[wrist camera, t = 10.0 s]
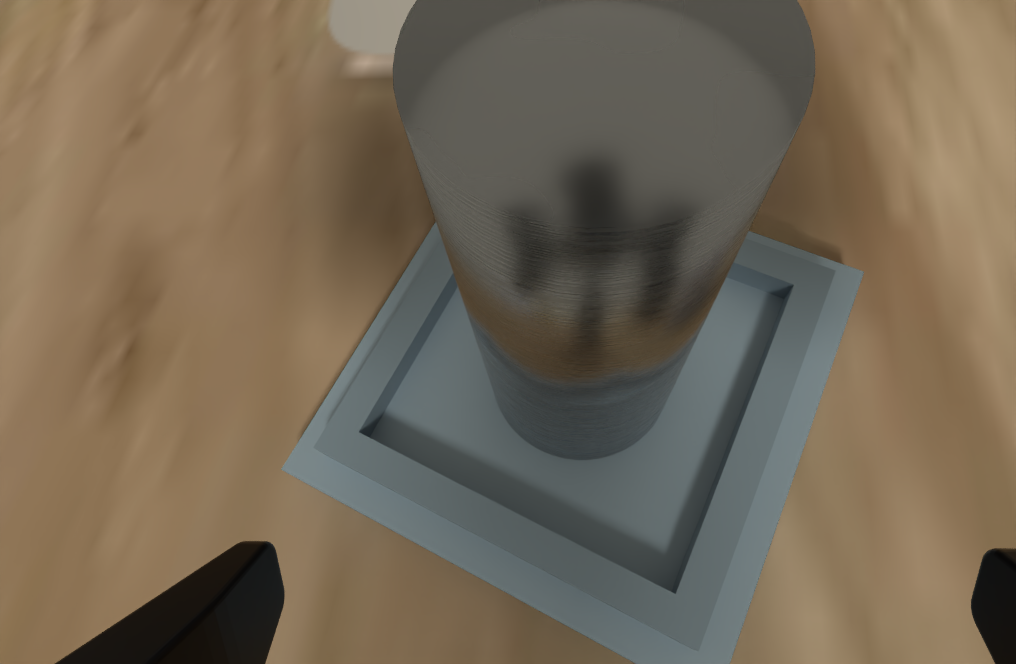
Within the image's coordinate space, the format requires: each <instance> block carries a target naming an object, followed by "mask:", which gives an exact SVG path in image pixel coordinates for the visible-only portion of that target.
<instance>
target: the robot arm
mask: <svg viewBox="0 0 1016 664" xmlns="http://www.w3.org/2000/svg"><path fill="white" fill-rule="evenodd" d="M283 605H284V586H283V581H282V577H281V572H280V568H279V563H278V558H277V554H276V550H275V547H274V546H273V544H271V543H270V542H267V541H243V542H240V543H238V544H236V545H234V546H233V547H231V548H230V549H228V550H227V551H225V552H224V553H222V554H221V555H219V556H218V557H216V558H215V559H213V560H212V561H210V562H209V563H207V564H205V565H204V566H202V567H201V568H199V569H198V570H196V571H195V572H193V573H192V574H190V575H189V576H187V577H186V578H184V579H183V580H181V581H180V582H178V583H177V584H175V585H174V586H172V587H171V588H169V589H168V590H166V591H164V592H163V593H161V594H160V595H158V596H157V597H155V598H154V599H152V600H151V601H149V602H148V603H146V604H145V605H143V606H142V607H140V608H139V609H137V610H136V611H134V612H133V613H131V614H130V615H128V616H127V617H125V618H123V619H122V620H120V621H119V622H117V623H116V624H114V625H113V626H111V627H110V628H108V629H107V630H105V631H104V632H102V633H101V634H99V635H98V636H96V637H95V638H93V639H92V640H90V641H89V642H87V643H86V644H84V645H82V646H81V647H79V648H78V649H76V650H75V651H73V652H72V653H70V654H69V655H67V656H66V657H64V658H63V659H61V660H60V661H58V662H57V663H55V664H265V663H266V659H267V656H268V653H269V650H270V647H271V644H272V641H273V637H274V634H275V631H276V628H277V625H278V622H279V619H280V616H281V612H282V609H283ZM971 610H972V615H973V618H974V621H975V624H976V626H977V628H978V630H979V632H980V634H981V636H982V638H983V640H984V642H985V644H986V646H987V648H988V650H989V652H990V654H991V656H992V658H993V660H994V662H995V664H1016V549H1008V548H995V549H991V550H988V551H987V552H986V553H985V554H984V556H983V559H982V562H981V566H980V569H979V573H978V577H977V580H976V584H975V588H974V591H973V595H972V599H971Z"/></svg>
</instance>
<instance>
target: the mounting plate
mask: <svg viewBox="0 0 1016 664" xmlns="http://www.w3.org/2000/svg"><path fill="white" fill-rule="evenodd" d="M863 273H864V272H863V271H860V270H858V269H855V268H852V267H849V266H846V265H844V264H841V263H838V262H835V261H832V260H829V259H827V258H824V257H821V256H818V255H815V254H813V253H810V252H807V251H804V250H801V249H798V248H796V247H793V246H790V245H787V244H784V243H782V242H779V241H776V240H773V239H770V238H767V237H765V236H762V235H759V234H756V233H753V232H751V231H748V233H747V235H746V237H745V239H744V241H743V244H742V246H741V248H740V250H739V252H738V254H737V256H736V258H735V260H734V262H733V264H732V266H731V269H730V271H729V273H728V275H727V277H726V279H725V281H724V283H723V285H722V287H721V289H720V291H719V294H718V296H717V298H716V300H715V302H714V304H713V306H712V308H711V310H710V312H709V314H708V316H707V318H706V321H705V323H704V325H703V327H702V329H701V331H700V333H699V335H698V337H697V339H696V341H695V343H694V346H693V348H692V350H691V352H690V354H689V356H688V358H687V360H686V362H685V364H684V366H683V368H682V371H681V373H680V375H679V377H678V379H677V381H676V383H675V385H674V387H673V389H672V391H671V393H670V395H669V398H668V400H667V402H666V404H665V406H664V408H663V410H662V412H661V414H660V416H659V417H658V419H657V421H656V422H655V424H654V425H653V426H652V428H651V429H650V430H649V431H648V432H647V433H646V434H645V435H644V436H643V437H642V438H641V439H640V440H639V441H637V442H636V443H635V444H633V445H632V446H630V447H629V448H627V449H625V450H623V451H621V452H619V453H616V454H614V455H611V456H608V457H604V458H600V459H592V460H572V459H565V458H560V457H557V456H553V455H550V454H548V453H545V452H543V451H540V450H539V449H537V448H535V447H534V446H532V445H530V444H529V443H527V442H526V441H525V440H524V439H522V438H521V437H520V436H519V435H518V434H517V433H516V432H515V431H514V430H513V429H512V428H511V426H510V425H509V424H508V422H507V421H506V420H505V418H504V416H503V414H502V412H501V411H500V408H499V406H498V403H497V401H496V398H495V395H494V392H493V389H492V386H491V383H490V380H489V377H488V374H487V371H486V368H485V365H484V362H483V359H482V356H481V353H480V351H479V348H478V345H477V342H476V339H475V336H474V333H473V330H472V327H471V324H470V321H469V318H468V315H467V312H466V309H465V306H464V303H463V300H462V297H461V294H460V291H459V288H458V285H457V282H456V279H455V276H454V273H453V270H452V267H451V264H450V262H449V259H448V256H447V253H446V250H445V247H444V244H443V241H442V238H441V235H440V232H439V229H438V226H437V223H436V222H435V224H434V225H433V227H432V228H431V230H430V232H429V233H428V235H427V236H426V238H425V240H424V241H423V243H422V244H421V246H420V248H419V249H418V251H417V252H416V254H415V256H414V257H413V259H412V260H411V262H410V264H409V265H408V267H407V269H406V270H405V272H404V273H403V275H402V277H401V278H400V280H399V281H398V283H397V285H396V286H395V288H394V289H393V291H392V293H391V294H390V296H389V297H388V299H387V301H386V302H385V304H384V305H383V307H382V309H381V310H380V312H379V313H378V315H377V317H376V318H375V320H374V321H373V323H372V325H371V326H370V328H369V329H368V331H367V333H366V334H365V336H364V338H363V339H362V341H361V342H360V344H359V346H358V347H357V349H356V350H355V352H354V354H353V355H352V357H351V358H350V360H349V362H348V363H347V365H346V366H345V368H344V370H343V371H342V373H341V374H340V376H339V378H338V379H337V381H336V382H335V384H334V386H333V387H332V389H331V390H330V392H329V394H328V395H327V397H326V398H325V400H324V402H323V403H322V405H321V407H320V408H319V410H318V411H317V413H316V415H315V416H314V418H313V419H312V421H311V423H310V424H309V426H308V427H307V429H306V431H305V432H304V434H303V435H302V437H301V439H300V440H299V442H298V443H297V445H296V447H295V448H294V450H293V451H292V453H291V455H290V456H289V458H288V459H287V461H286V463H285V464H284V466H283V467H282V469H281V470H283V471H285V472H287V473H288V474H290V475H292V476H294V477H296V478H298V479H299V480H301V481H303V482H305V483H307V484H309V485H310V486H312V487H314V488H316V489H318V490H320V491H321V492H323V493H325V494H327V495H329V496H330V497H332V498H334V499H336V500H338V501H340V502H341V503H343V504H345V505H347V506H349V507H351V508H352V509H354V510H356V511H358V512H360V513H362V514H363V515H365V516H367V517H369V518H371V519H373V520H374V521H376V522H378V523H380V524H382V525H383V526H385V527H387V528H389V529H391V530H393V531H394V532H396V533H398V534H400V535H402V536H404V537H405V538H407V539H409V540H411V541H413V542H415V543H416V544H418V545H420V546H422V547H424V548H425V549H427V550H429V551H431V552H433V553H435V554H436V555H438V556H440V557H442V558H444V559H446V560H447V561H449V562H451V563H453V564H455V565H457V566H458V567H460V568H462V569H464V570H466V571H467V572H469V573H471V574H473V575H475V576H477V577H478V578H480V579H482V580H484V581H486V582H488V583H489V584H491V585H493V586H495V587H497V588H499V589H500V590H502V591H504V592H506V593H508V594H510V595H511V596H513V597H515V598H517V599H519V600H520V601H522V602H524V603H526V604H528V605H530V606H531V607H533V608H535V609H537V610H539V611H541V612H542V613H544V614H546V615H548V616H550V617H552V618H553V619H555V620H557V621H559V622H561V623H562V624H564V625H566V626H568V627H570V628H572V629H573V630H575V631H577V632H579V633H581V634H583V635H584V636H586V637H588V638H590V639H592V640H594V641H595V642H597V643H599V644H601V645H603V646H605V647H606V648H608V649H610V650H612V651H614V652H615V653H617V654H619V655H621V656H623V657H625V658H626V659H628V660H630V661H632V662H634V663H636V664H730V661H731V658H732V655H733V652H734V649H735V647H736V644H737V641H738V638H739V635H740V632H741V629H742V626H743V623H744V620H745V617H746V614H747V612H748V609H749V606H750V603H751V600H752V597H753V594H754V591H755V588H756V585H757V582H758V579H759V577H760V574H761V571H762V568H763V565H764V562H765V559H766V556H767V553H768V550H769V547H770V545H771V542H772V539H773V536H774V533H775V530H776V527H777V524H778V521H779V518H780V515H781V512H782V510H783V507H784V504H785V501H786V498H787V495H788V492H789V489H790V486H791V483H792V480H793V477H794V475H795V472H796V469H797V466H798V463H799V460H800V457H801V454H802V451H803V448H804V445H805V443H806V440H807V437H808V434H809V431H810V428H811V425H812V422H813V419H814V416H815V413H816V410H817V408H818V405H819V402H820V399H821V396H822V393H823V390H824V387H825V384H826V381H827V378H828V375H829V373H830V370H831V367H832V364H833V361H834V358H835V355H836V352H837V349H838V346H839V343H840V340H841V338H842V335H843V332H844V329H845V326H846V323H847V320H848V317H849V314H850V311H851V308H852V306H853V303H854V300H855V297H856V294H857V291H858V288H859V285H860V282H861V279H862V276H863Z"/></svg>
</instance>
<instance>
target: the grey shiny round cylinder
mask: <svg viewBox="0 0 1016 664" xmlns="http://www.w3.org/2000/svg"><path fill="white" fill-rule="evenodd" d="M814 76H815V50H814V45H813V40H812V35H811V30H810V28H809V25H808V23H807V20H806V17H805V15H804V12H803V10H802V8H801V7H800V5H799V3H798V2H797V0H417V1H416V2H415V4H414V5H413V7H412V8H411V10H410V12H409V14H408V16H407V18H406V20H405V22H404V24H403V26H402V28H401V31H400V35H399V38H398V41H397V45H396V48H395V55H394V63H393V86H394V93H395V97H396V102H397V107H398V110H399V113H400V116H401V119H402V122H403V125H404V128H405V131H406V134H407V137H408V140H409V143H410V146H411V149H412V152H413V155H414V158H415V161H416V164H417V167H418V170H419V173H420V175H421V178H422V181H423V184H424V187H425V190H426V193H427V196H428V199H429V202H430V205H431V208H432V211H433V214H434V217H435V220H436V223H437V226H438V229H439V232H440V235H441V238H442V241H443V244H444V247H445V250H446V253H447V256H448V259H449V262H450V264H451V267H452V270H453V273H454V276H455V279H456V282H457V285H458V288H459V291H460V294H461V297H462V300H463V303H464V306H465V309H466V312H467V315H468V318H469V321H470V324H471V327H472V330H473V333H474V336H475V339H476V342H477V345H478V348H479V351H480V353H481V356H482V359H483V362H484V365H485V368H486V371H487V374H488V377H489V380H490V383H491V386H492V389H493V392H494V395H495V398H496V401H497V403H498V406H499V408H500V411H501V412H502V414H503V416H504V418H505V420H506V421H507V422H508V424H509V425H510V426H511V428H512V429H513V430H514V431H515V432H516V433H517V434H518V435H519V436H520V437H521V438H522V439H524V440H525V441H526V442H527V443H529V444H530V445H532V446H534V447H535V448H537V449H539V450H540V451H543V452H545V453H548V454H550V455H553V456H557V457H560V458H565V459H572V460H592V459H600V458H604V457H608V456H611V455H614V454H616V453H619V452H621V451H623V450H625V449H627V448H629V447H630V446H632V445H633V444H635V443H636V442H637V441H639V440H640V439H641V438H642V437H643V436H644V435H645V434H646V433H647V432H648V431H649V430H650V429H651V428H652V426H653V425H654V424H655V422H656V421H657V419H658V417H659V416H660V414H661V412H662V410H663V408H664V406H665V404H666V402H667V400H668V398H669V395H670V393H671V391H672V389H673V387H674V385H675V383H676V381H677V379H678V377H679V375H680V373H681V371H682V368H683V366H684V364H685V362H686V360H687V358H688V356H689V354H690V352H691V350H692V348H693V346H694V343H695V341H696V339H697V337H698V335H699V333H700V331H701V329H702V327H703V325H704V323H705V321H706V318H707V316H708V314H709V312H710V310H711V308H712V306H713V304H714V302H715V300H716V298H717V296H718V294H719V291H720V289H721V287H722V285H723V283H724V281H725V279H726V277H727V275H728V273H729V271H730V269H731V266H732V264H733V262H734V260H735V258H736V256H737V254H738V252H739V250H740V248H741V246H742V244H743V241H744V239H745V237H746V235H747V233H748V231H749V229H750V227H751V225H752V223H753V221H754V219H755V217H756V214H757V212H758V210H759V208H760V206H761V204H762V202H763V200H764V198H765V196H766V194H767V192H768V189H769V187H770V185H771V183H772V181H773V179H774V177H775V175H776V173H777V171H778V169H779V167H780V164H781V162H782V160H783V158H784V156H785V154H786V152H787V150H788V148H789V146H790V144H791V142H792V140H793V137H794V135H795V133H796V131H797V129H798V127H799V125H800V123H801V121H802V119H803V117H804V114H805V111H806V109H807V106H808V103H809V100H810V97H811V94H812V89H813V82H814Z"/></svg>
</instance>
